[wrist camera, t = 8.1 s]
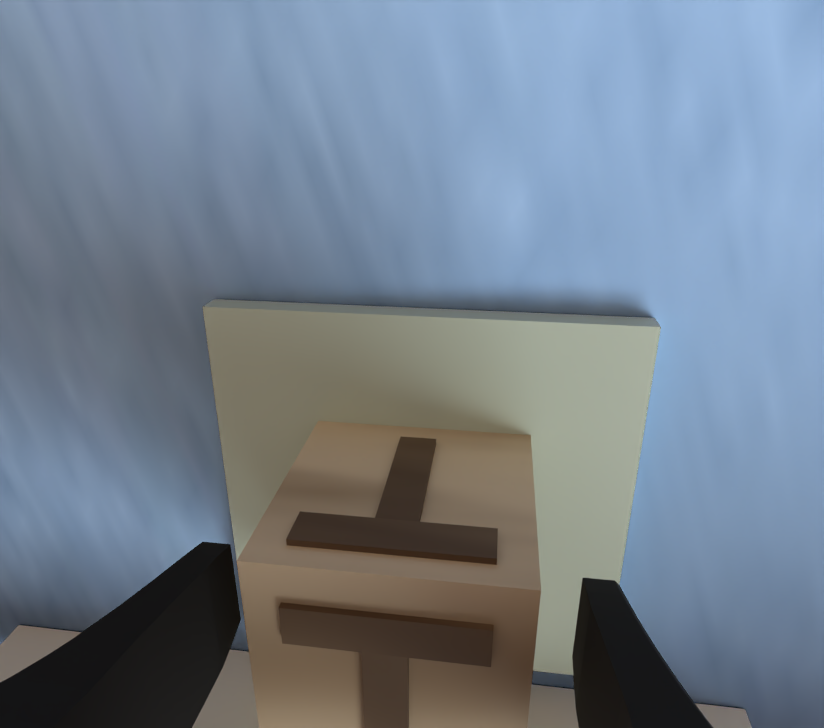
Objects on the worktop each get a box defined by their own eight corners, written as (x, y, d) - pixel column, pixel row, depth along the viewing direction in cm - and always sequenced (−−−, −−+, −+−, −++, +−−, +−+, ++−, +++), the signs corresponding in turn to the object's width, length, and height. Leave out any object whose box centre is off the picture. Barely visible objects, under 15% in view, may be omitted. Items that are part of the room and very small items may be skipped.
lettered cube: (516, 604, 16) (520, 805, 12) (328, 585, 17) (261, 769, 12) (530, 430, 14) (541, 590, 10) (317, 415, 15) (232, 560, 10)
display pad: (600, 660, 18) (603, 678, 17) (254, 622, 19) (247, 638, 18) (654, 317, 14) (660, 327, 13) (213, 299, 15) (202, 306, 14)
